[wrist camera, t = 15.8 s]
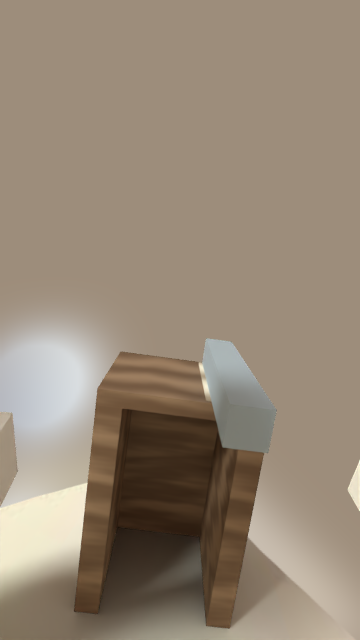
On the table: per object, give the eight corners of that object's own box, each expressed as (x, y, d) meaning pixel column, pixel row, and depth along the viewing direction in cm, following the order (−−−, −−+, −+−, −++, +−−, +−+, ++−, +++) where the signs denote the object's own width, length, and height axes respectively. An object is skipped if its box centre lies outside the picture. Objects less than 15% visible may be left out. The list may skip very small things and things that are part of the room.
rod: (268, 453, 30) (276, 410, 29) (222, 447, 30) (230, 404, 29) (227, 366, 55) (231, 341, 54) (202, 362, 54) (206, 338, 54)
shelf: (229, 628, 44) (272, 410, 39) (74, 611, 44) (97, 387, 39) (215, 532, 60) (245, 367, 55) (101, 518, 60) (120, 350, 55)
